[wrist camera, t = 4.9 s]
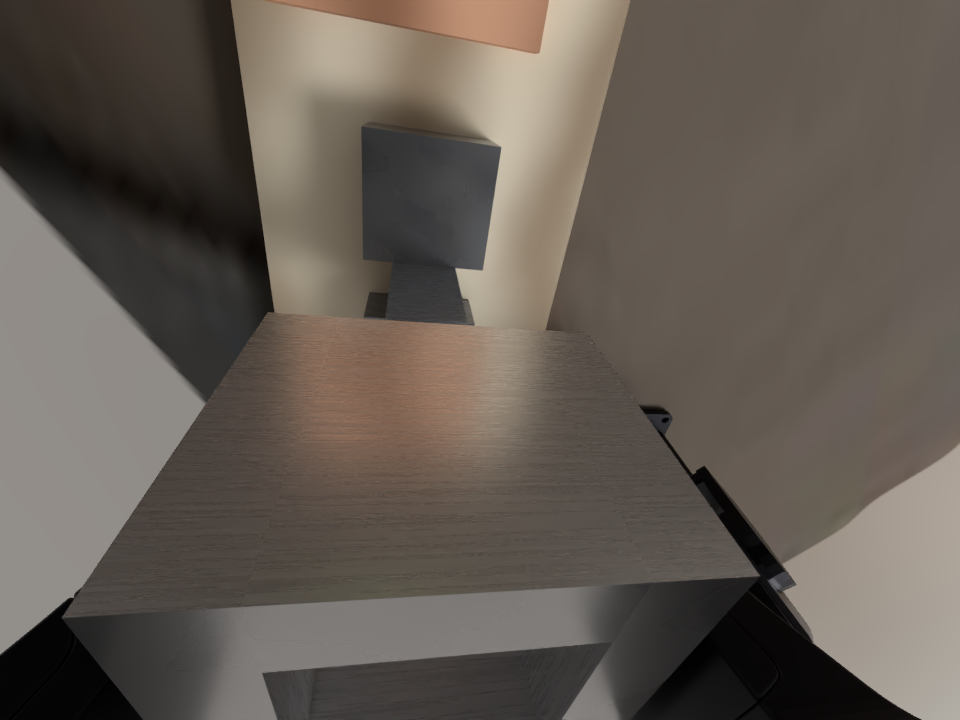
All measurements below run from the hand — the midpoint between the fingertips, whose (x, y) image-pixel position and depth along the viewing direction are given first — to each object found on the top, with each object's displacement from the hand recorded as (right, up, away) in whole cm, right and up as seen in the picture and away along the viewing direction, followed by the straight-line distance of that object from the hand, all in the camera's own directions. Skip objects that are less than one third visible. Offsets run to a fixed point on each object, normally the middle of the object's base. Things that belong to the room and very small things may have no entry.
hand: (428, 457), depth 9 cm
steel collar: (0, 0, 0) cm, 0 cm away
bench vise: (-2, +5, +10) cm, 12 cm away
